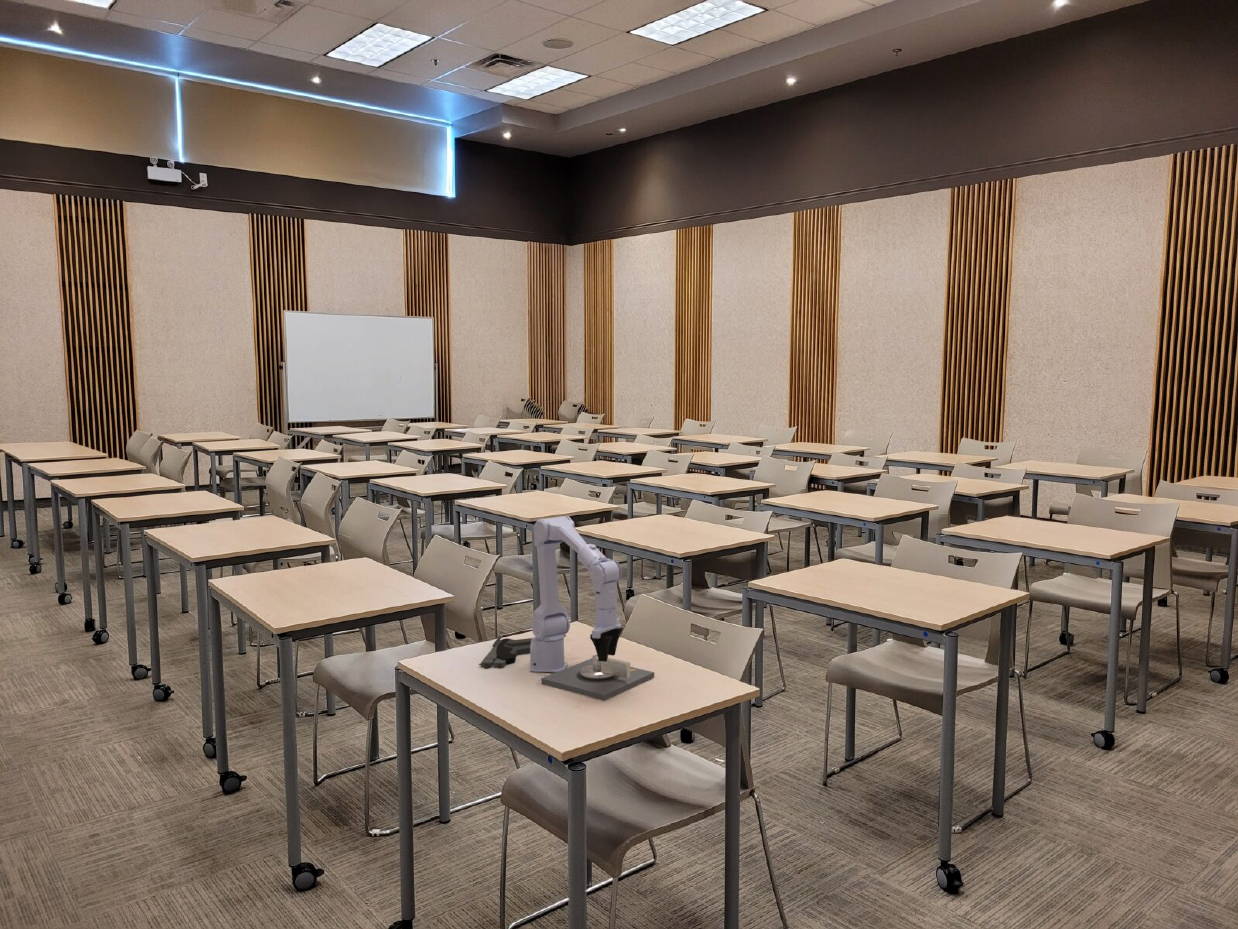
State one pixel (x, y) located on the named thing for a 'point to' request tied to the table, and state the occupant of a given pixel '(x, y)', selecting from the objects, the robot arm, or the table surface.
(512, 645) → the pistol
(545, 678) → the dial plate
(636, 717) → the table surface
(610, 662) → the dial
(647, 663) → the table surface
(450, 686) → the table surface
